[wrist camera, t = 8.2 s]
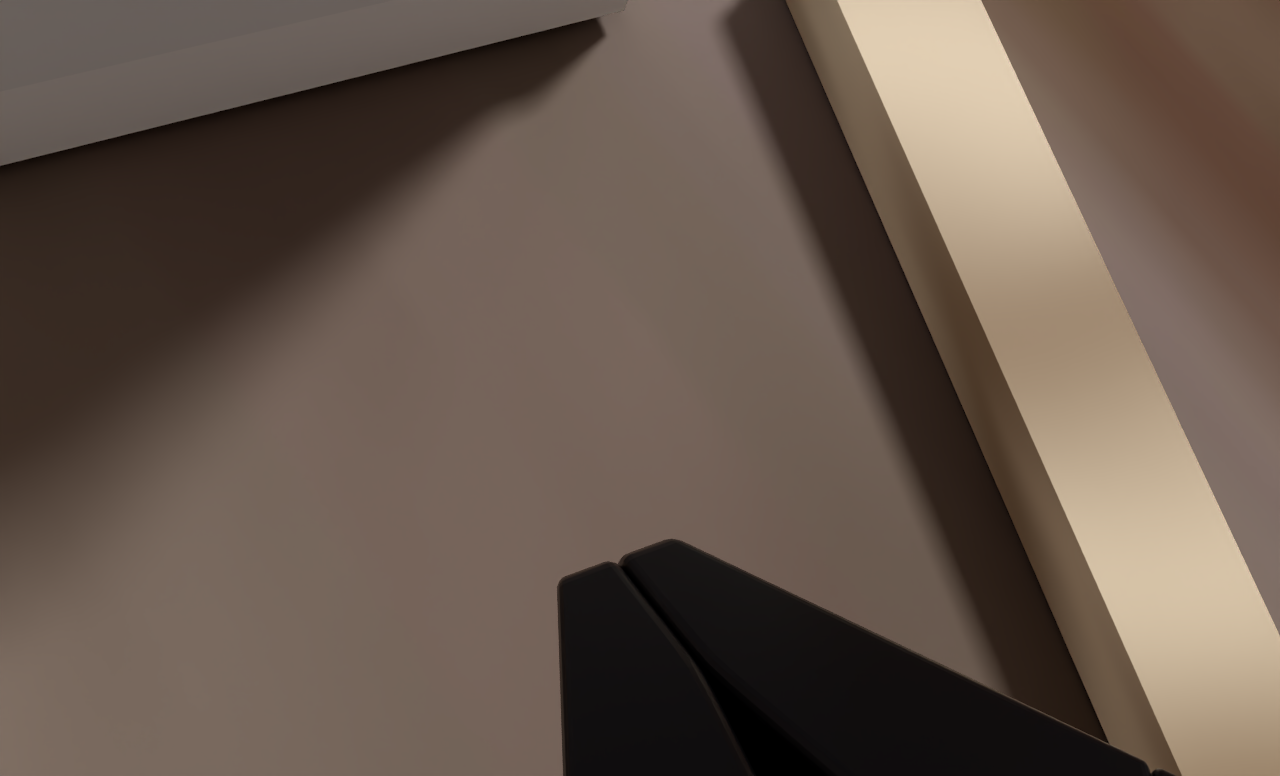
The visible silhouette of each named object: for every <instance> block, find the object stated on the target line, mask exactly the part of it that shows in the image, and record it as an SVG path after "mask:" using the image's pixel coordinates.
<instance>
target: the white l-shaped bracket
mask: <svg viewBox="0 0 1280 776" xmlns="http://www.w3.org/2000/svg"><path fill="white" fill-rule="evenodd" d="M626 3H627V0H0V166H2V165H6V164H10V163H14V162H18V161H22V160H26V159H30V158H34V157H38V156H42V155H46V154H50V153H54V152H58V151H62V150H66V149H70V148H74V147H78V146H82V145H86V144H90V143H94V142H98V141H102V140H106V139H110V138H114V137H118V136H122V135H126V134H130V133H134V132H138V131H142V130H146V129H150V128H154V127H158V126H162V125H166V124H170V123H174V122H178V121H182V120H186V119H190V118H194V117H198V116H202V115H207V114H211V113H215V112H219V111H223V110H227V109H231V108H235V107H239V106H243V105H247V104H251V103H255V102H259V101H263V100H267V99H271V98H275V97H279V96H283V95H287V94H291V93H295V92H299V91H303V90H307V89H311V88H315V87H319V86H323V85H327V84H331V83H335V82H339V81H343V80H347V79H351V78H355V77H359V76H363V75H367V74H371V73H375V72H379V71H383V70H387V69H391V68H395V67H399V66H403V65H407V64H411V63H415V62H419V61H424V60H428V59H432V58H436V57H440V56H444V55H448V54H452V53H456V52H460V51H464V50H468V49H472V48H476V47H480V46H484V45H488V44H492V43H496V42H500V41H504V40H508V39H512V38H516V37H520V36H524V35H528V34H532V33H536V32H540V31H544V30H548V29H552V28H556V27H560V26H564V25H568V24H572V23H576V22H580V21H584V20H588V19H592V18H596V17H600V16H604V15H608V14H612V13H616V12H620V11H624V10H625V7H626Z"/></svg>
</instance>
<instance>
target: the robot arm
mask: <svg viewBox="0 0 1280 776" xmlns="http://www.w3.org/2000/svg"><path fill="white" fill-rule="evenodd" d="M557 602H558V632H559V663H560V694H561V725H562V756H563V776H1176V775H1174V774H1172V773H1170V772H1168V771H1166V770H1164V769H1155V770H1154V771H1152V773H1150V769H1149V767H1148V765H1147V763H1146V762H1145V761H1143V760H1142V759H1140V758H1137V757H1135V756H1133V755H1131V754H1129V753H1127V752H1125V751H1123V750H1121V749H1119V748H1116V747H1114V746H1112V745H1110V744H1108V743H1106V742H1104V741H1102V740H1100V739H1097V738H1095V737H1093V736H1091V735H1089V734H1087V733H1085V732H1083V731H1081V730H1079V729H1076V728H1074V727H1072V726H1070V725H1068V724H1066V723H1064V722H1062V721H1060V720H1057V719H1055V718H1053V717H1051V716H1049V715H1047V714H1045V713H1043V712H1041V711H1039V710H1036V709H1034V708H1032V707H1030V706H1028V705H1026V704H1024V703H1022V702H1020V701H1018V700H1015V699H1013V698H1011V697H1009V696H1007V695H1005V694H1003V693H1001V692H999V691H996V690H994V689H992V688H990V687H988V686H986V685H984V684H982V683H980V682H978V681H975V680H973V679H971V678H969V677H967V676H965V675H963V674H961V673H959V672H956V671H954V670H952V669H950V668H948V667H946V666H944V665H942V664H940V663H938V662H935V661H933V660H931V659H929V658H927V657H925V656H923V655H921V654H919V653H916V652H914V651H912V650H910V649H908V648H906V647H904V646H902V645H900V644H898V643H895V642H893V641H891V640H889V639H887V638H885V637H883V636H881V635H879V634H877V633H874V632H872V631H870V630H868V629H866V628H864V627H862V626H860V625H858V624H855V623H853V622H851V621H849V620H847V619H845V618H843V617H841V616H839V615H837V614H834V613H832V612H830V611H828V610H826V609H824V608H822V607H820V606H818V605H815V604H813V603H811V602H809V601H807V600H805V599H803V598H801V597H799V596H797V595H794V594H792V593H790V592H788V591H786V590H784V589H782V588H780V587H778V586H776V585H773V584H771V583H769V582H767V581H765V580H763V579H761V578H759V577H757V576H754V575H752V574H750V573H748V572H746V571H744V570H742V569H740V568H738V567H736V566H733V565H731V564H729V563H727V562H725V561H723V560H721V559H719V558H717V557H714V556H712V555H710V554H708V553H706V552H704V551H702V550H700V549H698V548H696V547H693V546H691V545H689V544H687V543H685V542H683V541H680V540H676V539H668V540H663V541H661V542H658V543H655V544H652V545H650V546H647V547H644V548H642V549H639V550H636V551H633V552H631V553H628V554H626V555H624V556H623V557H622V558H621V560H620V561H619V563H618V564H616V563H613V562H609V561H608V562H603V563H600V564H598V565H595V566H592V567H589V568H587V569H584V570H581V571H579V572H576V573H573V574H570V575H568V576H565V577H563V578H562V579H561V580H560V581H559V584H558V586H557Z"/></svg>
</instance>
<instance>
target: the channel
mask: <svg viewBox="0 0 1280 776" xmlns="http://www.w3.org/2000/svg"><path fill="white" fill-rule="evenodd" d="M786 3H787V5H788V7H789V10H790V12H791V14H792V16H793V19H794V21H795V23H796V26H797V28H798V30H799V32H800V35H801V37H802V39H803V42H804V44H805V46H806V49H807V51H808V53H809V55H810V58H811V60H812V62H813V65H814V67H815V69H816V71H817V74H818V76H819V78H820V81H821V83H822V85H823V88H824V90H825V92H826V94H827V97H828V99H829V101H830V104H831V106H832V108H833V111H834V113H835V115H836V117H837V120H838V122H839V124H840V127H841V129H842V131H843V133H844V136H845V138H846V140H847V143H848V145H849V147H850V150H851V152H852V154H853V156H854V159H855V161H856V163H857V166H858V168H859V170H860V172H861V175H862V177H863V179H864V182H865V184H866V186H867V189H868V191H869V193H870V195H871V198H872V200H873V202H874V205H875V207H876V209H877V211H878V214H879V216H880V218H881V221H882V223H883V225H884V228H885V230H886V232H887V234H888V237H889V239H890V241H891V244H892V246H893V248H894V251H895V253H896V255H897V257H898V260H899V262H900V264H901V267H902V269H903V271H904V273H905V276H906V278H907V280H908V283H909V285H910V287H911V290H912V292H913V294H914V296H915V299H916V301H917V303H918V306H919V308H920V310H921V312H922V315H923V317H924V319H925V322H926V324H927V326H928V329H929V331H930V333H931V335H932V338H933V340H934V342H935V345H936V347H937V349H938V351H939V354H940V356H941V358H942V361H943V363H944V365H945V368H946V370H947V372H948V374H949V377H950V379H951V381H952V384H953V386H954V388H955V391H956V393H957V395H958V397H959V400H960V402H961V404H962V407H963V409H964V411H965V413H966V416H967V418H968V420H969V423H970V425H971V427H972V430H973V432H974V434H975V436H976V439H977V441H978V443H979V446H980V448H981V450H982V452H983V455H984V457H985V459H986V462H987V464H988V466H989V469H990V471H991V473H992V475H993V478H994V480H995V482H996V485H997V487H998V489H999V492H1000V494H1001V496H1002V498H1003V501H1004V503H1005V505H1006V508H1007V510H1008V512H1009V514H1010V517H1011V519H1012V521H1013V524H1014V526H1015V528H1016V531H1017V533H1018V535H1019V537H1020V540H1021V542H1022V544H1023V547H1024V549H1025V551H1026V553H1027V556H1028V558H1029V560H1030V563H1031V565H1032V567H1033V570H1034V572H1035V574H1036V576H1037V579H1038V581H1039V583H1040V586H1041V588H1042V590H1043V592H1044V595H1045V597H1046V599H1047V602H1048V604H1049V606H1050V609H1051V611H1052V613H1053V615H1054V618H1055V620H1056V622H1057V625H1058V627H1059V629H1060V632H1061V634H1062V636H1063V638H1064V641H1065V643H1066V645H1067V648H1068V650H1069V652H1070V654H1071V657H1072V659H1073V661H1074V664H1075V666H1076V668H1077V671H1078V673H1079V675H1080V677H1081V680H1082V682H1083V684H1084V687H1085V689H1086V691H1087V693H1088V696H1089V698H1090V700H1091V703H1092V705H1093V707H1094V710H1095V712H1096V714H1097V716H1098V719H1099V721H1100V723H1101V726H1102V728H1103V730H1104V732H1105V735H1106V737H1107V739H1108V742H1109V744H1110V745H1112V746H1114V747H1116V748H1119V749H1121V750H1123V751H1125V752H1127V753H1129V754H1131V755H1133V756H1135V757H1137V758H1140V759H1142V760H1143V761H1145V762H1146V763H1147V765H1148V767H1149V769H1150V773H1152V771H1154V770H1155V769H1164V770H1166V771H1168V772H1170V773H1172V774H1174V775H1176V776H1280V635H1279V633H1278V631H1277V629H1276V627H1275V625H1274V623H1273V620H1272V618H1271V616H1270V614H1269V612H1268V610H1267V608H1266V606H1265V603H1264V601H1263V599H1262V597H1261V595H1260V593H1259V591H1258V589H1257V586H1256V584H1255V582H1254V580H1253V578H1252V576H1251V574H1250V572H1249V569H1248V567H1247V565H1246V563H1245V561H1244V559H1243V557H1242V555H1241V552H1240V550H1239V548H1238V546H1237V544H1236V542H1235V540H1234V538H1233V535H1232V533H1231V531H1230V529H1229V527H1228V525H1227V523H1226V520H1225V518H1224V516H1223V514H1222V512H1221V510H1220V508H1219V506H1218V503H1217V501H1216V499H1215V497H1214V495H1213V493H1212V491H1211V489H1210V486H1209V484H1208V482H1207V480H1206V478H1205V476H1204V474H1203V472H1202V469H1201V467H1200V465H1199V463H1198V461H1197V459H1196V457H1195V455H1194V452H1193V450H1192V448H1191V446H1190V444H1189V442H1188V440H1187V438H1186V435H1185V433H1184V431H1183V429H1182V427H1181V425H1180V423H1179V421H1178V418H1177V416H1176V414H1175V412H1174V410H1173V408H1172V406H1171V403H1170V401H1169V399H1168V397H1167V395H1166V393H1165V391H1164V389H1163V386H1162V384H1161V382H1160V380H1159V378H1158V376H1157V374H1156V372H1155V369H1154V367H1153V365H1152V363H1151V361H1150V359H1149V357H1148V355H1147V352H1146V350H1145V348H1144V346H1143V344H1142V342H1141V340H1140V338H1139V335H1138V333H1137V331H1136V329H1135V327H1134V325H1133V323H1132V321H1131V318H1130V316H1129V314H1128V312H1127V310H1126V308H1125V306H1124V303H1123V301H1122V299H1121V297H1120V295H1119V293H1118V291H1117V289H1116V286H1115V284H1114V282H1113V280H1112V278H1111V276H1110V274H1109V272H1108V269H1107V267H1106V265H1105V263H1104V261H1103V259H1102V257H1101V255H1100V252H1099V250H1098V248H1097V246H1096V244H1095V242H1094V240H1093V238H1092V235H1091V233H1090V231H1089V229H1088V227H1087V225H1086V223H1085V221H1084V218H1083V216H1082V214H1081V212H1080V210H1079V208H1078V206H1077V203H1076V201H1075V199H1074V197H1073V195H1072V193H1071V191H1070V189H1069V186H1068V184H1067V182H1066V180H1065V178H1064V176H1063V174H1062V172H1061V169H1060V167H1059V165H1058V163H1057V161H1056V159H1055V157H1054V155H1053V152H1052V150H1051V148H1050V146H1049V144H1048V142H1047V140H1046V138H1045V135H1044V133H1043V131H1042V129H1041V127H1040V125H1039V123H1038V121H1037V118H1036V116H1035V114H1034V112H1033V110H1032V108H1031V106H1030V104H1029V101H1028V99H1027V97H1026V95H1025V93H1024V91H1023V89H1022V86H1021V84H1020V82H1019V80H1018V78H1017V76H1016V74H1015V72H1014V69H1013V67H1012V65H1011V63H1010V61H1009V59H1008V57H1007V55H1006V52H1005V50H1004V48H1003V46H1002V44H1001V42H1000V40H999V38H998V35H997V33H996V31H995V29H994V27H993V25H992V23H991V21H990V18H989V16H988V14H987V12H986V10H985V8H984V6H983V4H982V1H981V0H786Z"/></svg>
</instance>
